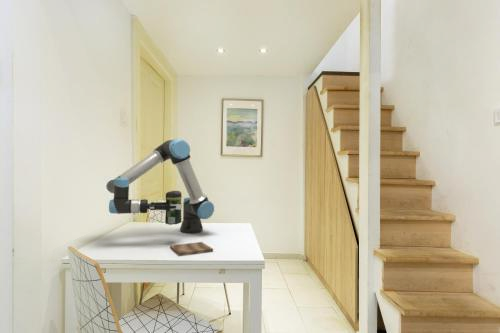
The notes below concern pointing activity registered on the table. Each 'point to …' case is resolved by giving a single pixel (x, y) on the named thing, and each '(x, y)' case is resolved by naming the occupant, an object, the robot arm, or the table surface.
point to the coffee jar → (174, 214)
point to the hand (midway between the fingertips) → (181, 205)
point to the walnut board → (191, 248)
